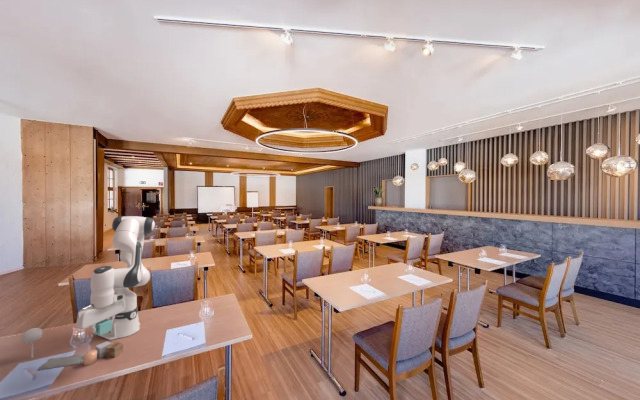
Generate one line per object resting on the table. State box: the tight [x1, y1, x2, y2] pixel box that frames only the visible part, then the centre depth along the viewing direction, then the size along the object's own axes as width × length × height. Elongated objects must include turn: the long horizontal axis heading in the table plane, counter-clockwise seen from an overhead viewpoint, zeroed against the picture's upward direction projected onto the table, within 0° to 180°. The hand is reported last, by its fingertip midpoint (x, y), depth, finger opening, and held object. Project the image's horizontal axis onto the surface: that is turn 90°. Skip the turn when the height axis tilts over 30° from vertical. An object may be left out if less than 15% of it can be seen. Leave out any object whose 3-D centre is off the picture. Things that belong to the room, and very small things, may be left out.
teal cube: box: [92, 318, 112, 337], centre depth 122 cm, size 5×5×5 cm
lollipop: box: [21, 327, 44, 359], centre depth 128 cm, size 7×7×15 cm
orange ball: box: [82, 349, 98, 367], centre depth 125 cm, size 5×5×5 cm
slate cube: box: [95, 340, 112, 358], centre depth 132 cm, size 5×5×5 cm
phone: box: [37, 353, 84, 371], centre depth 125 cm, size 8×16×1 cm, turn 107°
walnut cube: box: [105, 341, 124, 358], centre depth 132 cm, size 5×5×5 cm
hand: (102, 328), depth 122 cm, fingers closed on teal cube, 5 cm apart
